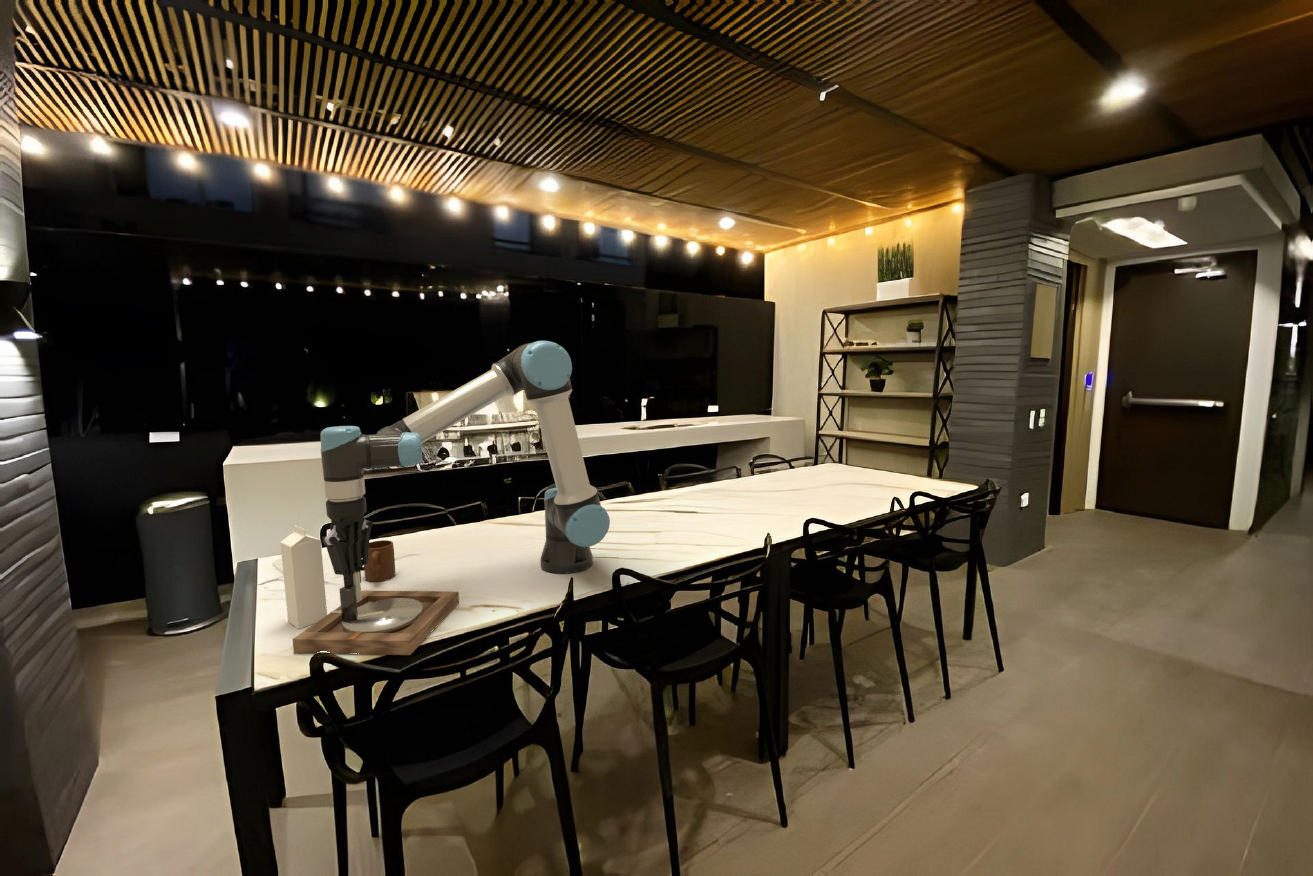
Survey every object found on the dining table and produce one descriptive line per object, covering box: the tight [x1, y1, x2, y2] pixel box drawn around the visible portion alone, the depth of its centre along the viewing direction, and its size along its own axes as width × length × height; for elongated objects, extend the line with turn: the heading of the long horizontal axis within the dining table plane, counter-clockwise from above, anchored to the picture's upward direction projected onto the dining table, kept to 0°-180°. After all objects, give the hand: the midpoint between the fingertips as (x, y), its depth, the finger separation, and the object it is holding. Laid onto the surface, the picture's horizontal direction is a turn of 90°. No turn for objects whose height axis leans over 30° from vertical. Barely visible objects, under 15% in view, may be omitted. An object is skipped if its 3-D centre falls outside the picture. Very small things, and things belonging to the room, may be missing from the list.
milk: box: [280, 524, 328, 630], centre depth 120 cm, size 6×6×22 cm
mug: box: [363, 539, 396, 583], centre depth 145 cm, size 12×8×9 cm, turn 20°
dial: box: [339, 585, 423, 633], centre depth 118 cm, size 16×16×8 cm
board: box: [292, 589, 460, 656], centre depth 119 cm, size 24×24×3 cm
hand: (354, 600), depth 119 cm, fingers closed
